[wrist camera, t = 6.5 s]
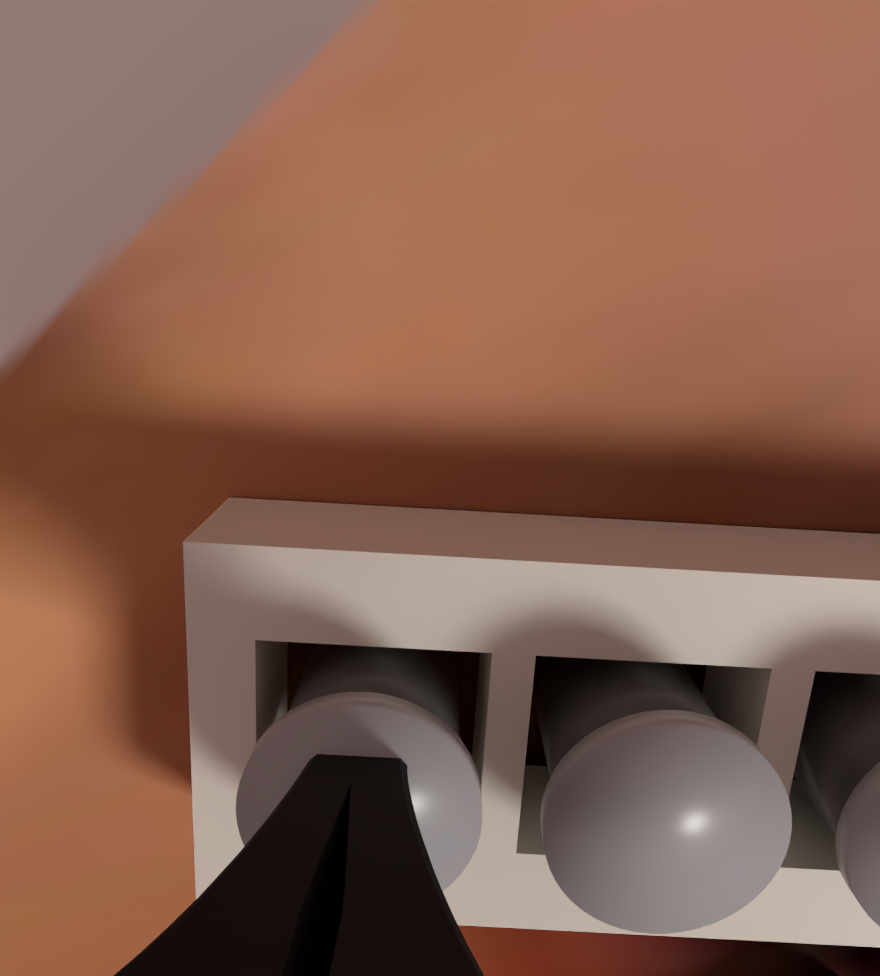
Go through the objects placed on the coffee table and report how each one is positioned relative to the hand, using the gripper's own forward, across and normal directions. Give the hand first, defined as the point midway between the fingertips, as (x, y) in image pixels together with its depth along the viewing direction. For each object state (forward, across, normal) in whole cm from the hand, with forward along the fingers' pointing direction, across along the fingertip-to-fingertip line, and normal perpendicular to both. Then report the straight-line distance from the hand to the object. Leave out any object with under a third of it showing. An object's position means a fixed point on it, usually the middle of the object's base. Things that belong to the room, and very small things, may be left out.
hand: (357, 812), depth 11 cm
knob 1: (+3, 0, 0) cm, 3 cm away
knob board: (+4, -4, 0) cm, 6 cm away
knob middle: (+3, -5, 0) cm, 6 cm away
